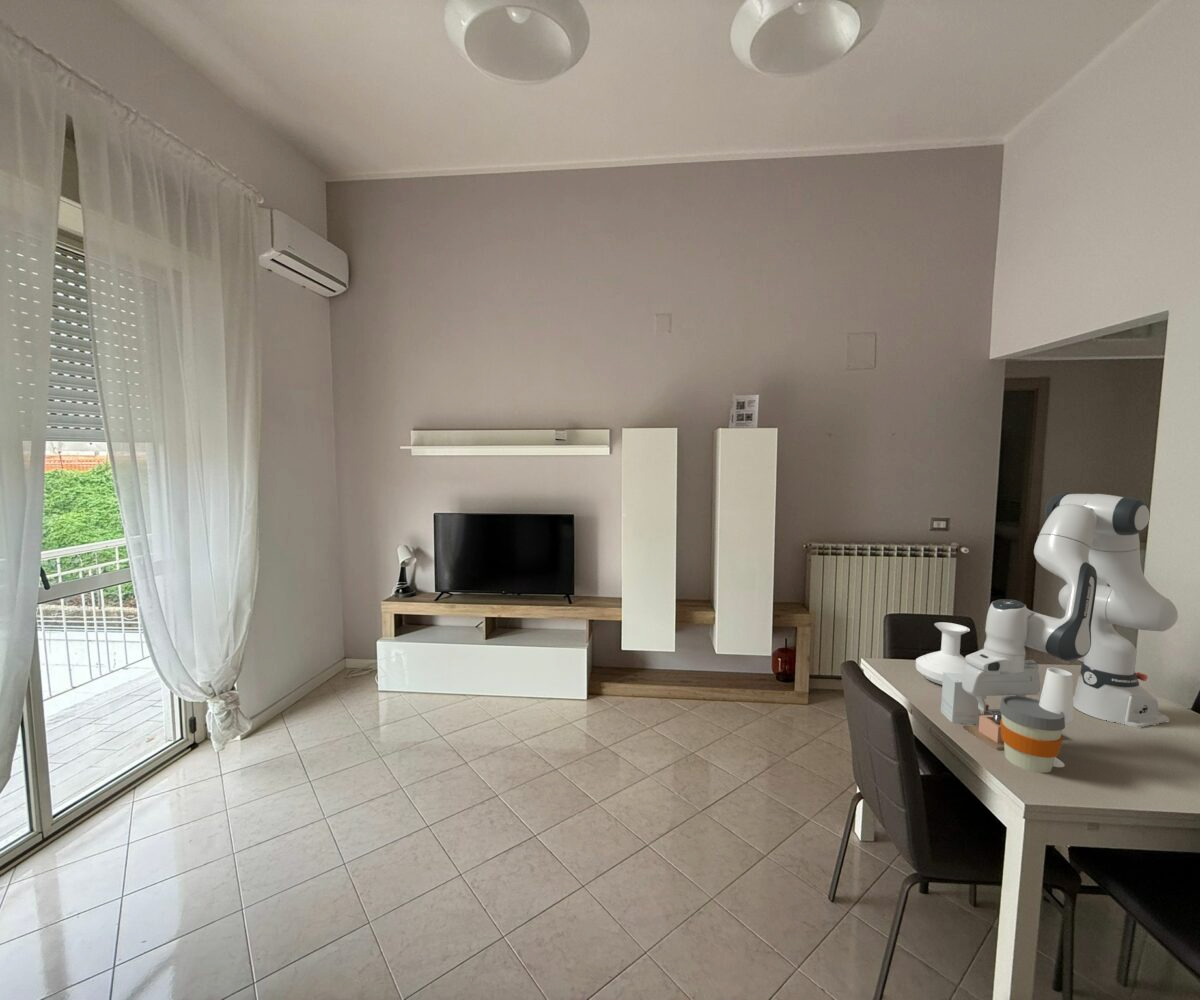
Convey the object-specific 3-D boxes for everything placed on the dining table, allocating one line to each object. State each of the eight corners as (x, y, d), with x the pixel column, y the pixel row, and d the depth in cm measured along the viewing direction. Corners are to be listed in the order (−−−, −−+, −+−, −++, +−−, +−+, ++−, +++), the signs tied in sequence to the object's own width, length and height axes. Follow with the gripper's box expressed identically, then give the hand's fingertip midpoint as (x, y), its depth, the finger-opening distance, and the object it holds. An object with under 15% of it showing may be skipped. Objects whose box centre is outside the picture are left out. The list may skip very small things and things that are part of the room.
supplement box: (979, 726, 147) (983, 684, 146) (951, 723, 148) (954, 681, 147) (967, 714, 154) (969, 673, 153) (939, 711, 155) (942, 671, 155)
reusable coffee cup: (1073, 783, 121) (1078, 722, 120) (1012, 775, 124) (1016, 716, 123) (1042, 753, 133) (1046, 698, 132) (986, 746, 136) (990, 692, 135)
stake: (997, 733, 141) (999, 712, 140) (1006, 738, 138) (1008, 716, 138) (989, 733, 140) (990, 712, 140) (997, 739, 138) (999, 717, 137)
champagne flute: (1062, 759, 131) (1071, 669, 129) (1073, 773, 125) (1082, 679, 123) (1029, 752, 134) (1037, 664, 132) (1038, 766, 127) (1047, 674, 125)
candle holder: (986, 680, 179) (990, 626, 177) (981, 699, 164) (985, 641, 162) (919, 664, 192) (923, 614, 190) (909, 681, 176) (913, 627, 175)
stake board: (995, 728, 146) (995, 724, 146) (1031, 750, 135) (1031, 745, 135) (962, 729, 145) (963, 725, 145) (996, 751, 134) (996, 747, 134)
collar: (992, 726, 145) (993, 711, 144) (1017, 741, 137) (1019, 725, 136) (972, 727, 144) (973, 711, 144) (997, 742, 136) (998, 726, 136)
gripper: (1027, 655, 142) (1023, 703, 143) (959, 656, 140) (955, 704, 141) (1049, 664, 135) (1044, 714, 136) (979, 665, 133) (974, 716, 134)
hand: (999, 709), depth 138 cm, fingers open, 8 cm apart
